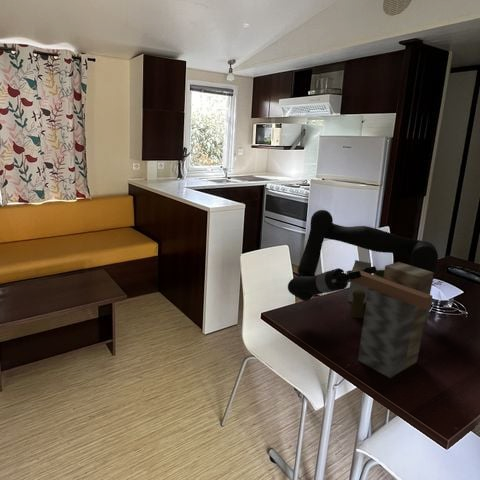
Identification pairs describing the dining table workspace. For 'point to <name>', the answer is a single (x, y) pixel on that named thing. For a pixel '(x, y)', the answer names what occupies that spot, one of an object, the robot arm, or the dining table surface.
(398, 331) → the stepped stand
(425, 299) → the block
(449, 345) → the dining table surface
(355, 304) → the olive cylinder
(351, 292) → the milk carton
